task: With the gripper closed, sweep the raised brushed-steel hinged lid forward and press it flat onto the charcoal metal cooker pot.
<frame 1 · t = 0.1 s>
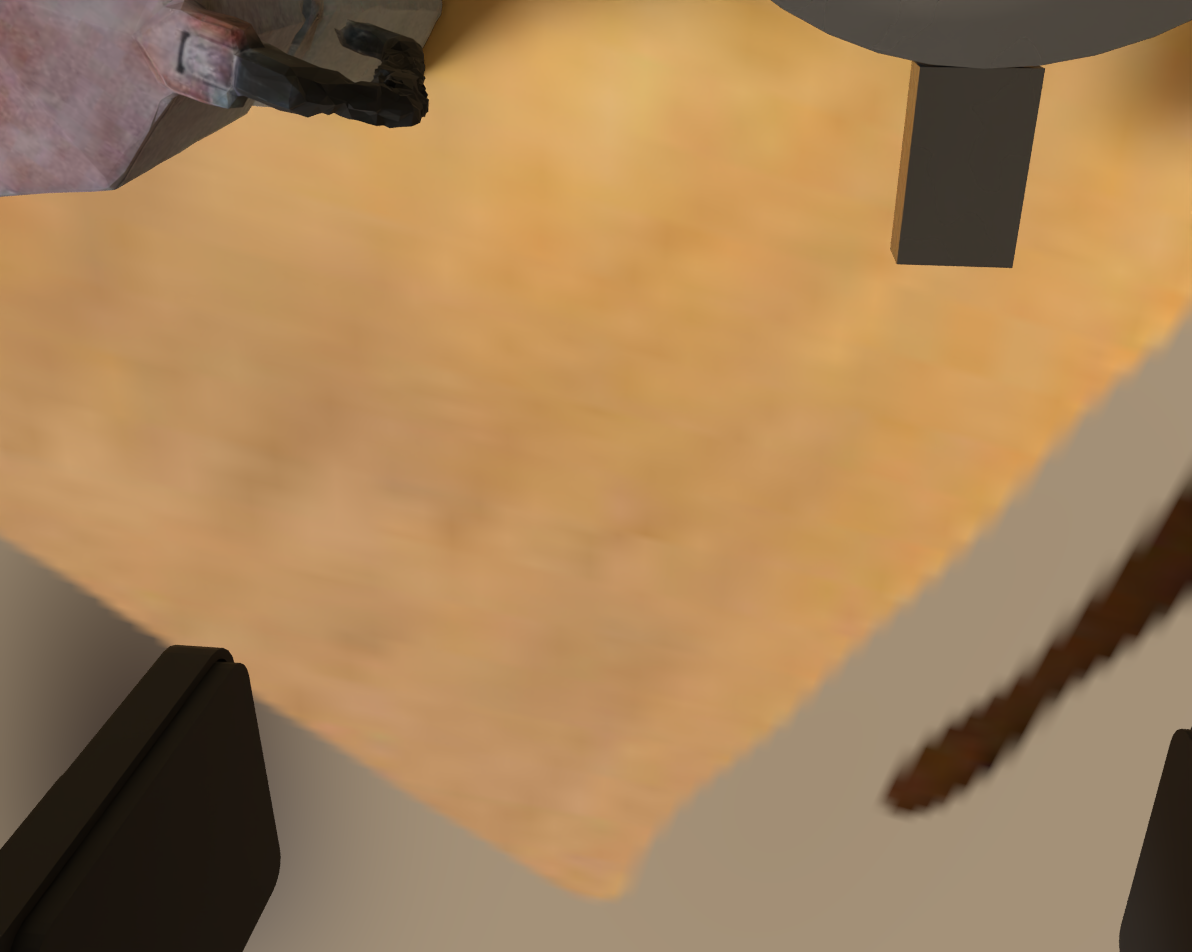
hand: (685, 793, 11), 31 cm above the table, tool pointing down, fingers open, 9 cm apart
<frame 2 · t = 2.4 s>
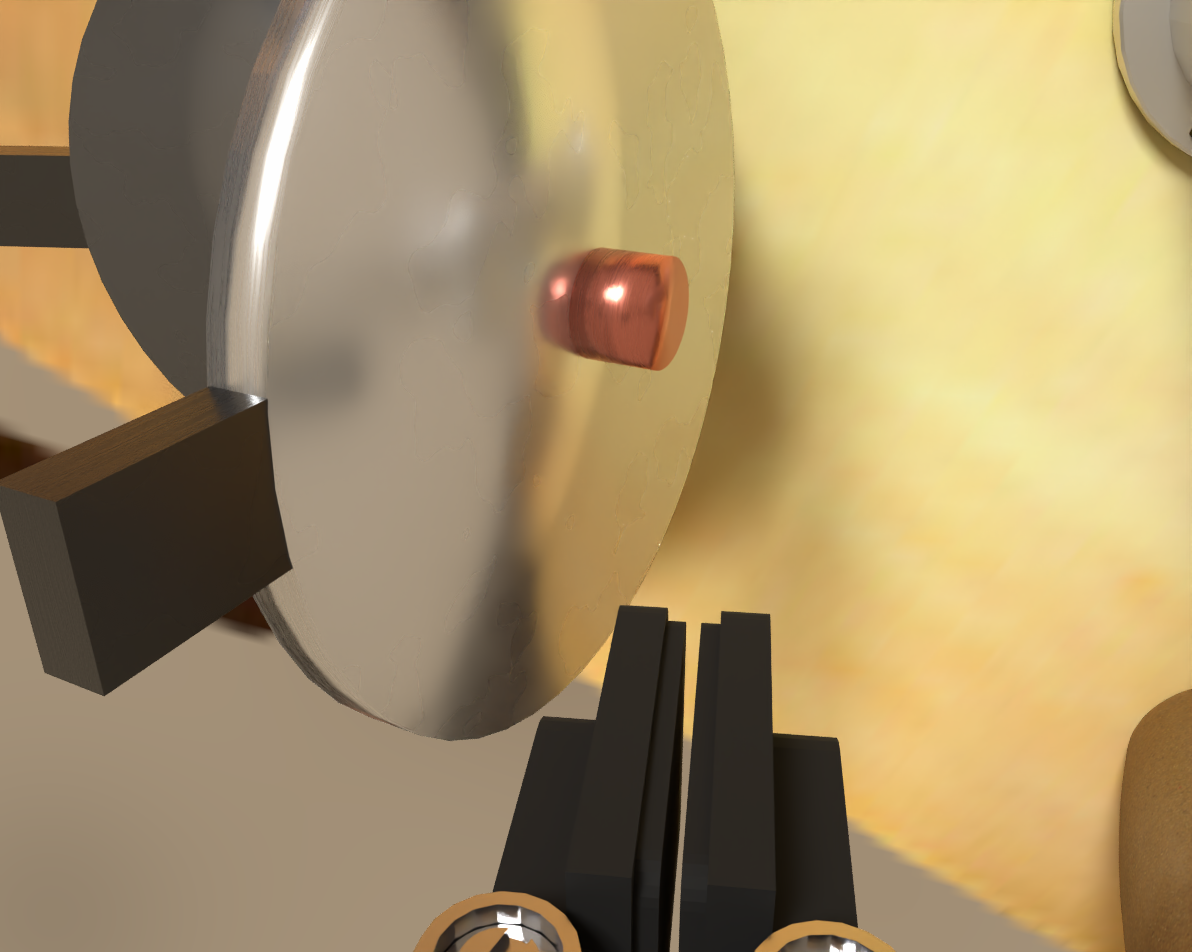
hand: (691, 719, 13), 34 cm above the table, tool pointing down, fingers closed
cooker pot: (452, 152, 44), on the table
cooker lid: (544, 341, 24), point 22 cm above the table, hinge at 70.0°
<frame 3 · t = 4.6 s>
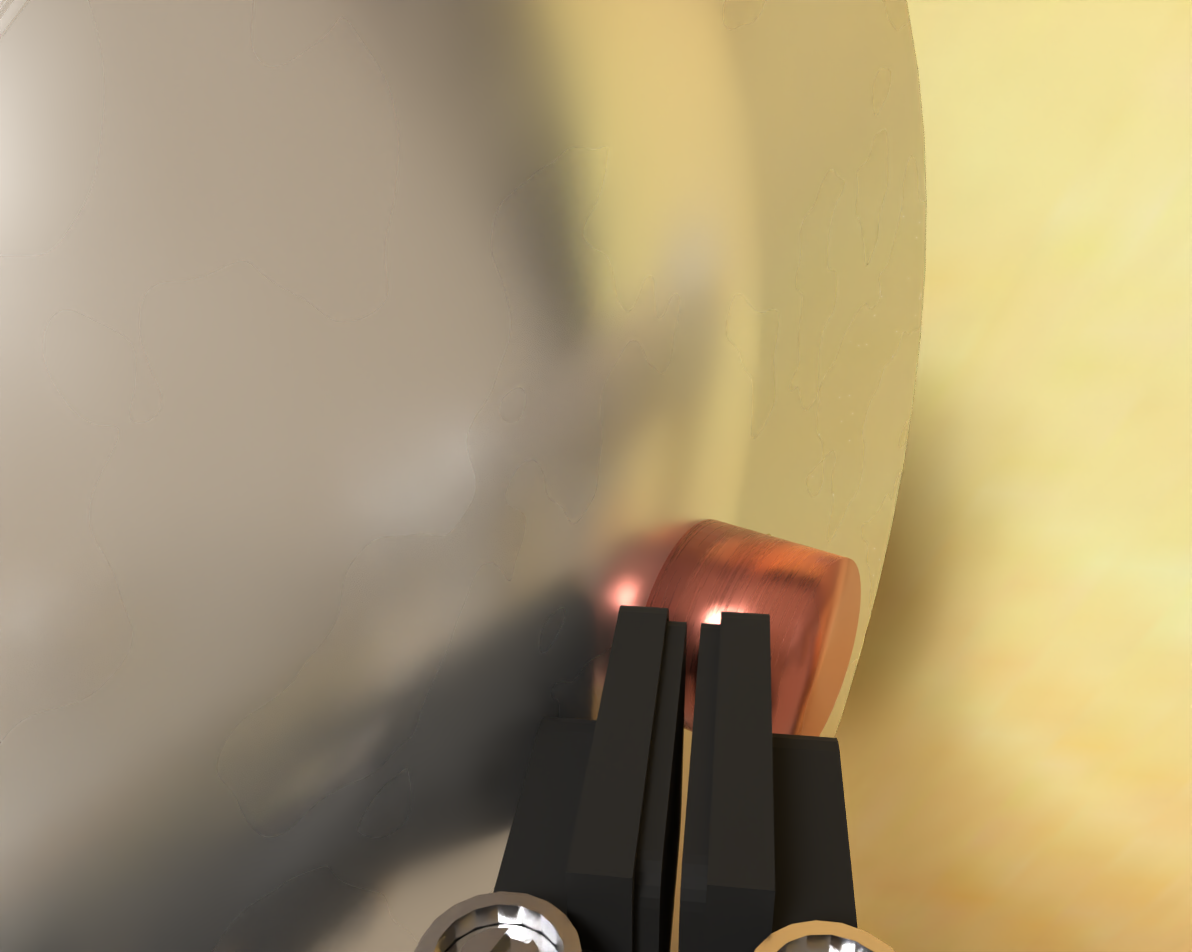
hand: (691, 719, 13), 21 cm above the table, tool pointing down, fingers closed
cooker lid: (579, 749, 12), point 21 cm above the table, hinge at 64.6°, touching gripper
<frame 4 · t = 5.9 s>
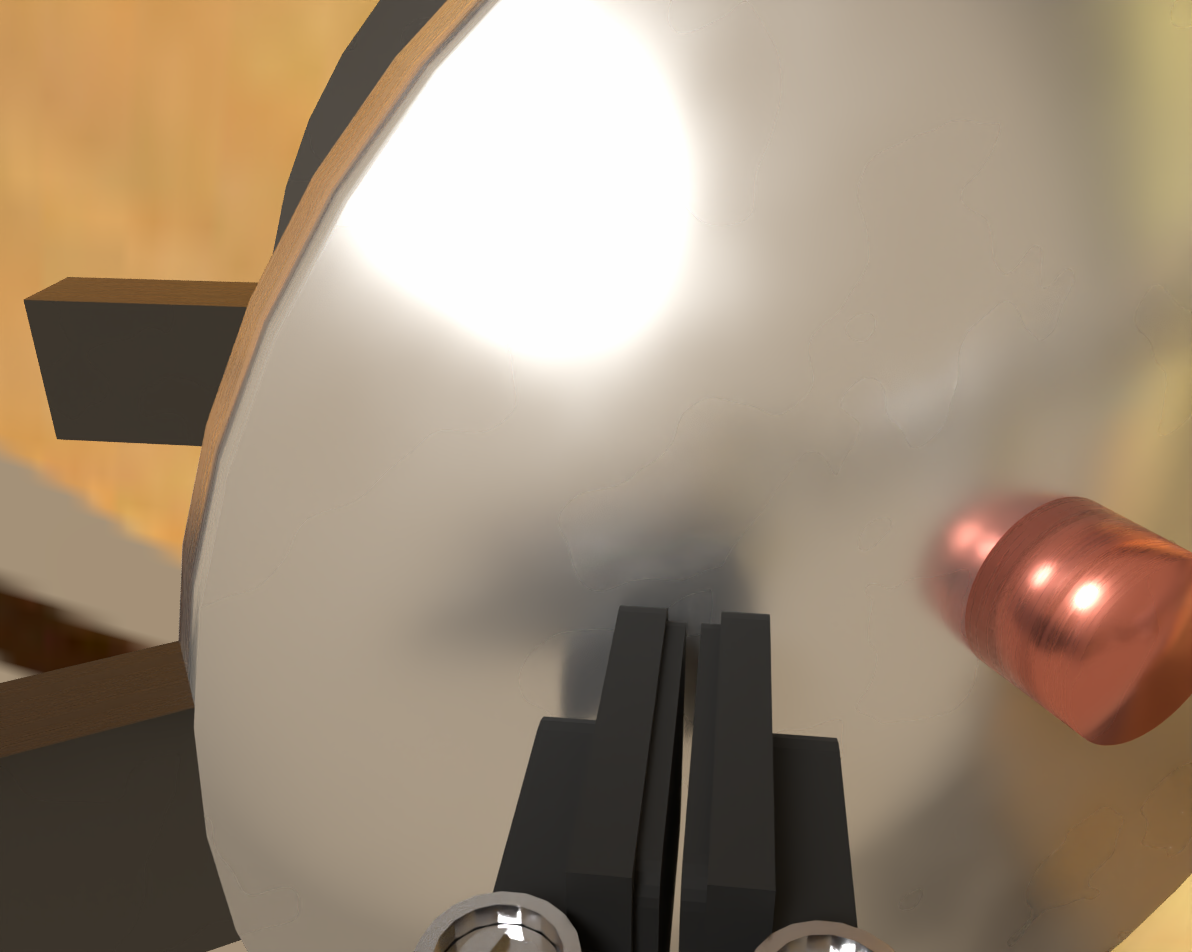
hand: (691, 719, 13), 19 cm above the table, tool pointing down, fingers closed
cooker pot: (780, 262, 30), on the table
cooker lid: (881, 647, 14), point 18 cm above the table, hinge at 32.3°
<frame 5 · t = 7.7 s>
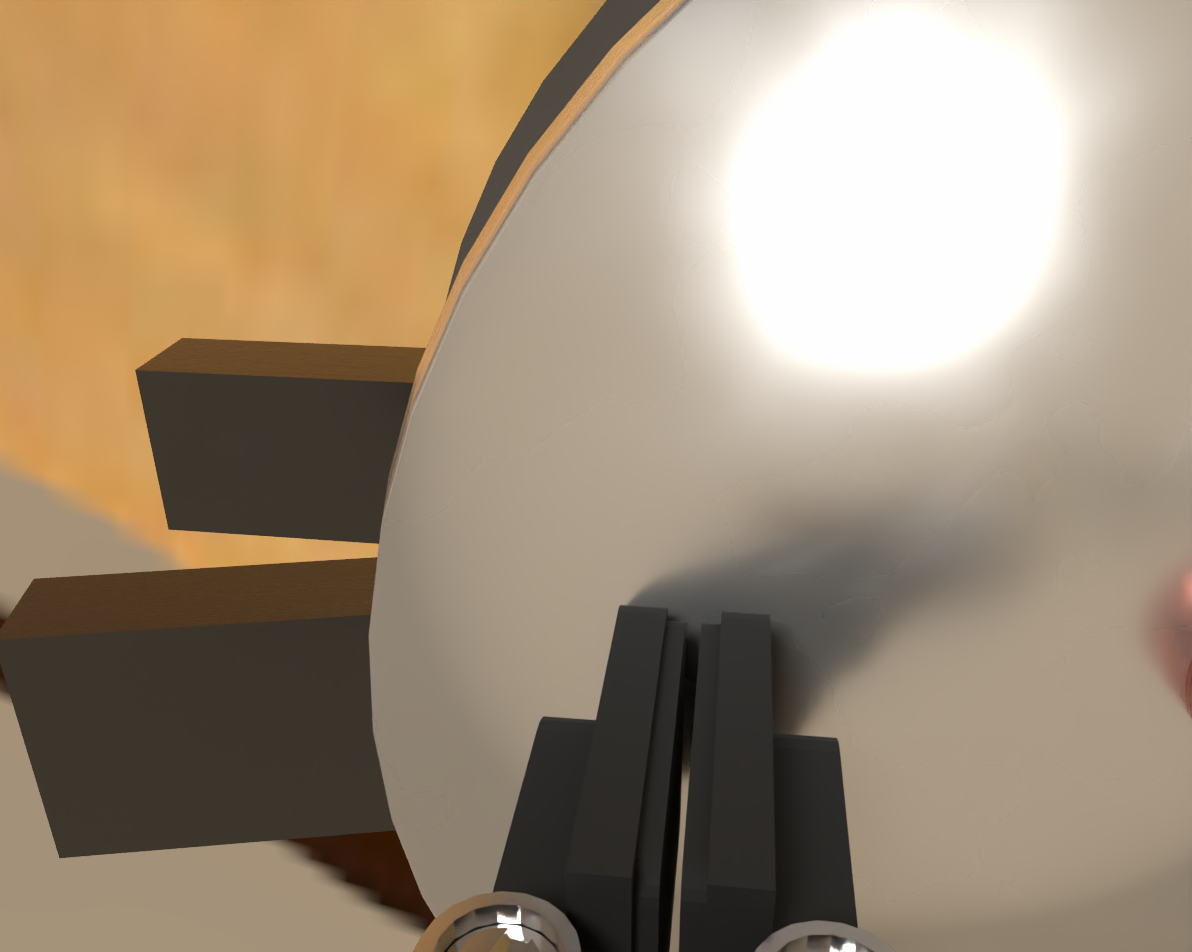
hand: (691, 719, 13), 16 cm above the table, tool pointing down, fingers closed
cooker pot: (978, 307, 26), on the table
cooker lid: (1071, 692, 13), point 15 cm above the table, hinge at 14.7°, touching gripper
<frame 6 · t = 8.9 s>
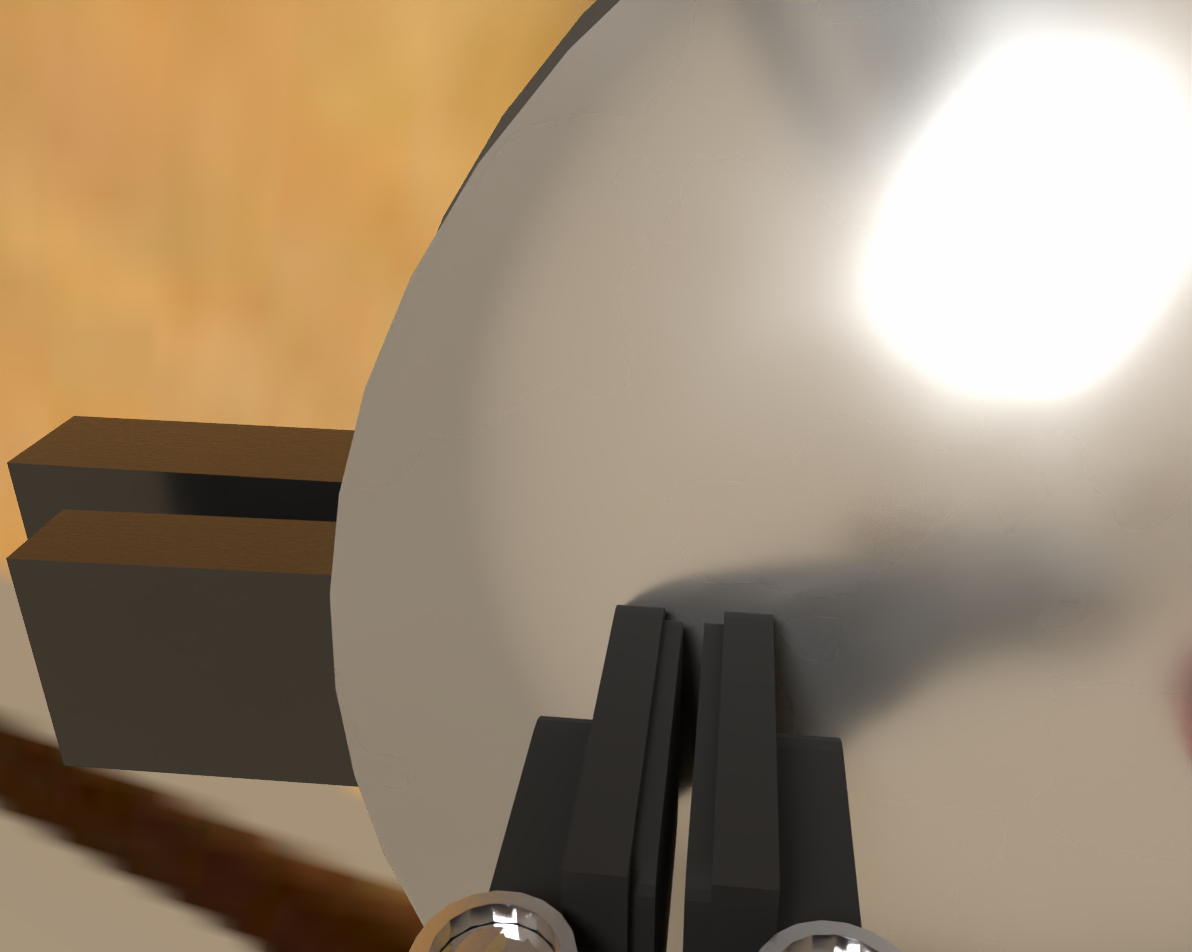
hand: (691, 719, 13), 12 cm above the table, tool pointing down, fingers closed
cooker pot: (1017, 360, 22), on the table
cooker lid: (1054, 748, 12), point 12 cm above the table, hinge at 2.0°, touching gripper
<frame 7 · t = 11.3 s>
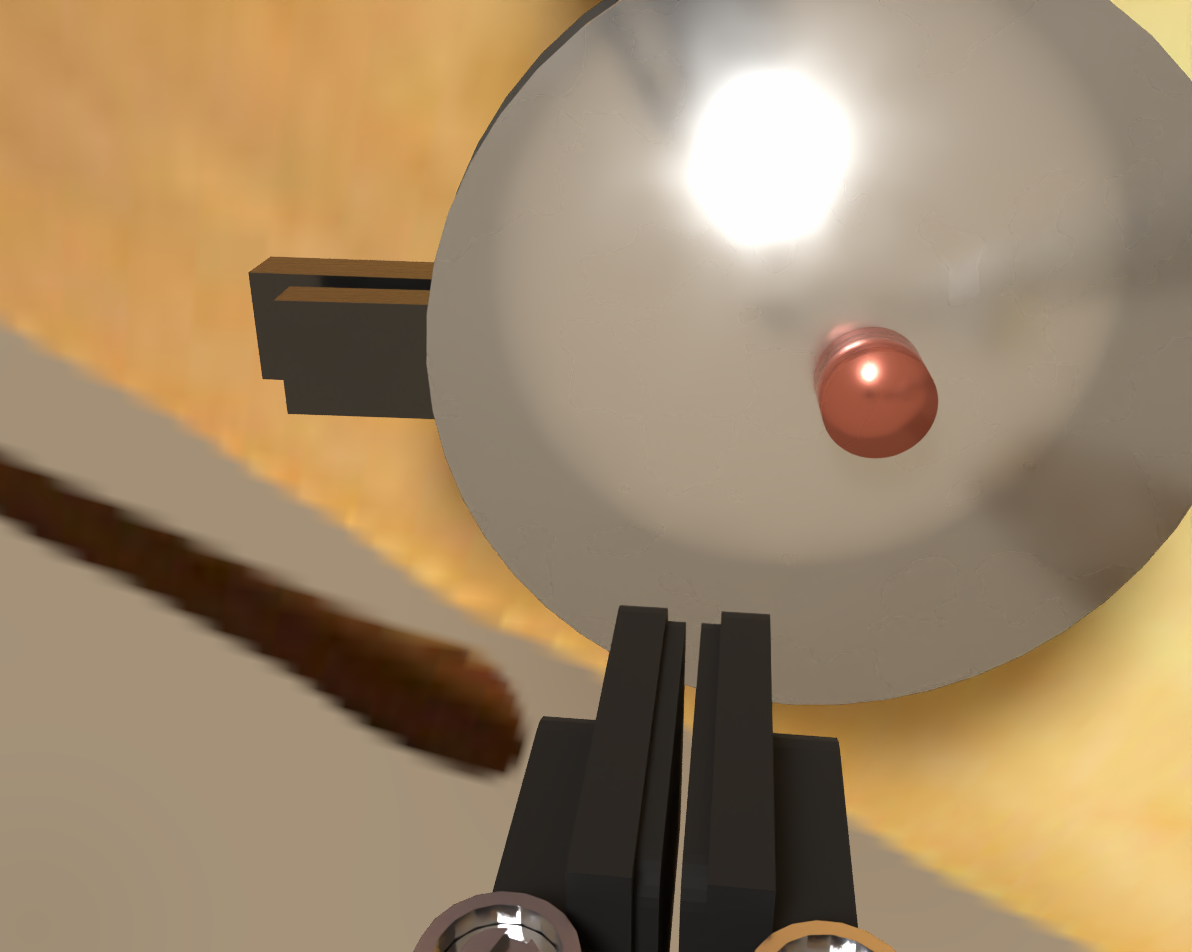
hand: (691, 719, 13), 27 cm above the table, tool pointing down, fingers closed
cooker pot: (798, 252, 38), on the table
cooker lid: (749, 378, 27), point 12 cm above the table, hinge at 1.8°
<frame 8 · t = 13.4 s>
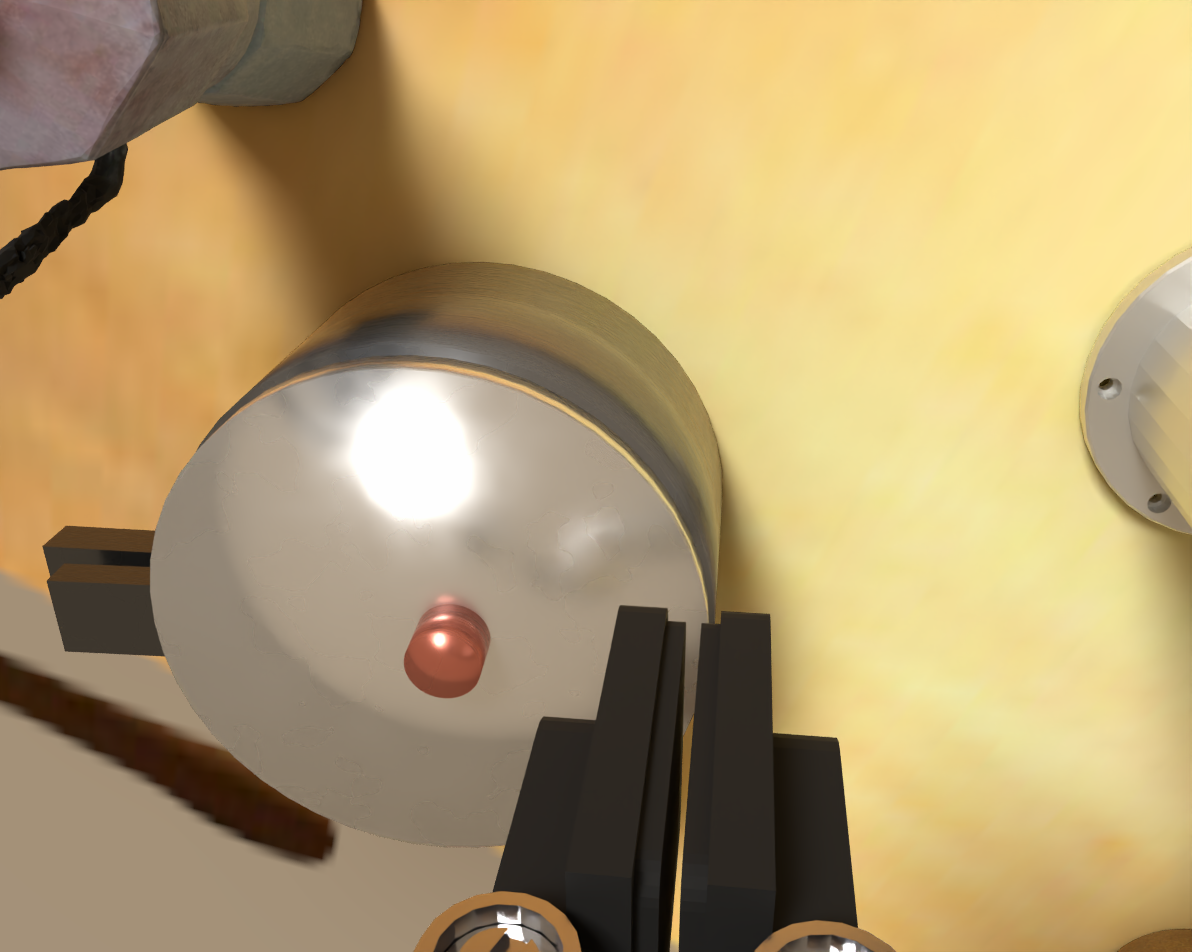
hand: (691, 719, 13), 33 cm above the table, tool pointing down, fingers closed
cooker pot: (494, 485, 49), on the table
cooker lid: (371, 636, 39), point 12 cm above the table, hinge at 1.8°
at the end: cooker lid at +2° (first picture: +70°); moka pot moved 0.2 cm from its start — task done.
